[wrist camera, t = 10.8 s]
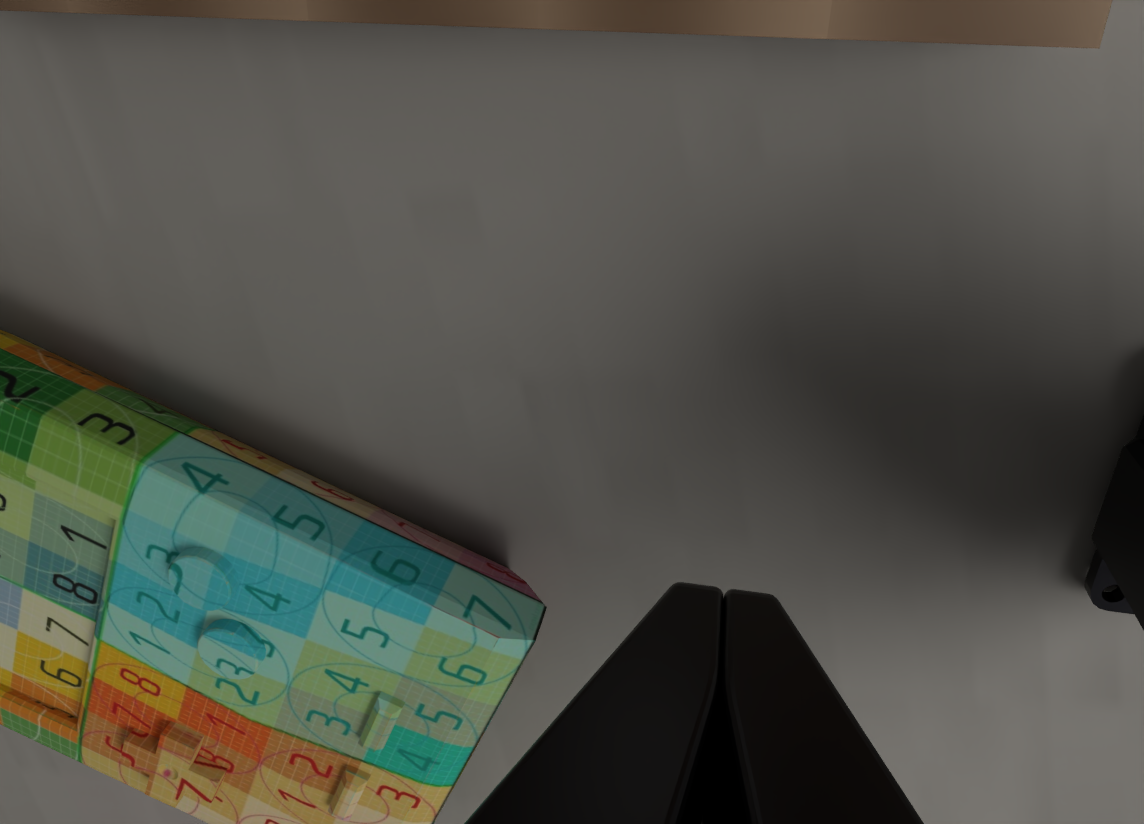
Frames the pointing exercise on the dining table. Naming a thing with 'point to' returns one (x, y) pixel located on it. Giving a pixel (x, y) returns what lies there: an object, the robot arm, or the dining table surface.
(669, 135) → the dining table surface
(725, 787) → the robot arm
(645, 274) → the dining table surface
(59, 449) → the puzzle game
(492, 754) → the dining table surface
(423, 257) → the dining table surface
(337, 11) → the button board
